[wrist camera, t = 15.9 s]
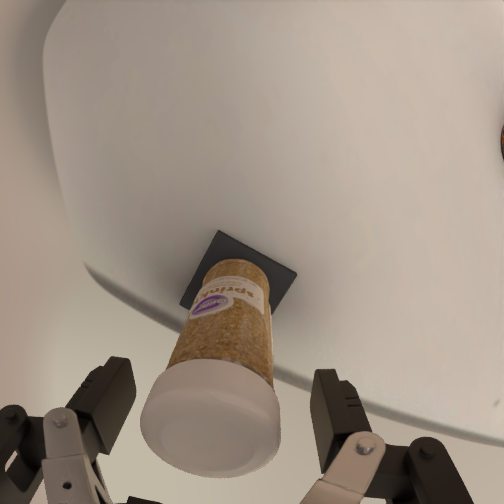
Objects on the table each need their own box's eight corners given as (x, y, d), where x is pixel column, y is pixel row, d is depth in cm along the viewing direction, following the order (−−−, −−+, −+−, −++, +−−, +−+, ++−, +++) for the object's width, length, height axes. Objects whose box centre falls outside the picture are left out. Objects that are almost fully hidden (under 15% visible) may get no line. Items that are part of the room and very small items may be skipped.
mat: (180, 302, 22) (178, 304, 22) (218, 229, 21) (217, 231, 20) (253, 339, 23) (253, 342, 22) (296, 272, 21) (297, 275, 21)
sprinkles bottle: (243, 243, 20) (218, 370, 7) (282, 296, 21) (309, 457, 8) (188, 281, 21) (109, 423, 8) (229, 330, 22) (201, 493, 9)
